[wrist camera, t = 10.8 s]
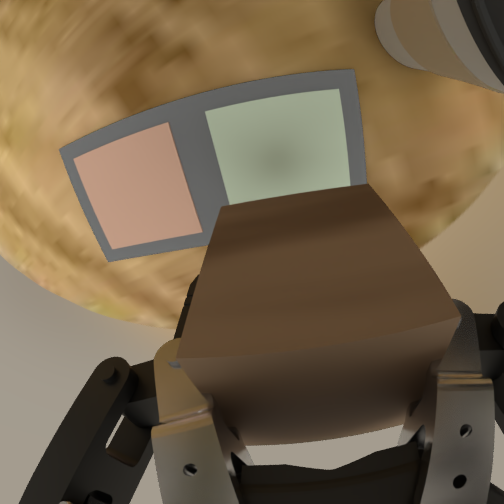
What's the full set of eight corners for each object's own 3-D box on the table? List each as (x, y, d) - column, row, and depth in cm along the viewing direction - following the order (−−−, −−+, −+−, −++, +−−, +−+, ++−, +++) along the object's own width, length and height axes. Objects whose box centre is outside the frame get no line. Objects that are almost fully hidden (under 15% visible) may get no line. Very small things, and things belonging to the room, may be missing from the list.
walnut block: (221, 206, 10) (175, 358, 5) (368, 183, 9) (461, 315, 4) (252, 311, 12) (243, 445, 7) (367, 294, 11) (405, 423, 7)
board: (61, 147, 21) (57, 150, 21) (352, 69, 17) (354, 68, 17) (110, 259, 28) (107, 263, 28) (366, 217, 24) (368, 221, 24)
